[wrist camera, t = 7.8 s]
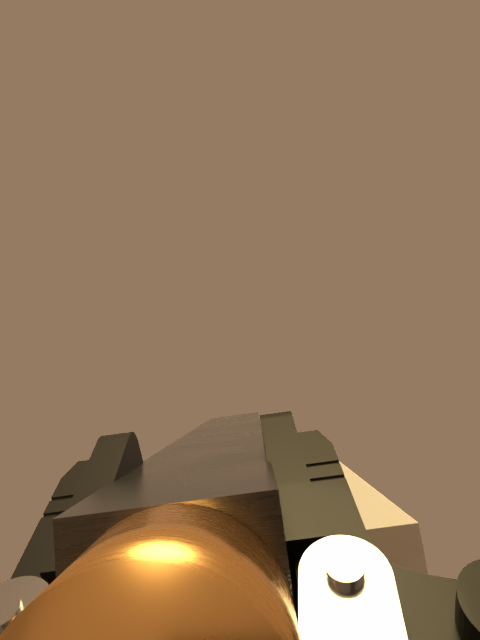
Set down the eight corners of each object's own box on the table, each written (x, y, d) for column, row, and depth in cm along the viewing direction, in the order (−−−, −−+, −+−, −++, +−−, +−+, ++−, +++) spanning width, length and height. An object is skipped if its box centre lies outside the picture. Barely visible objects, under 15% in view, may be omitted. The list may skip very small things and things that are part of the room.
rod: (264, 461, 27) (257, 412, 27) (353, 971, 3) (292, 540, 4) (216, 467, 27) (210, 418, 27) (-46, 1020, 3) (-53, 585, 4)
